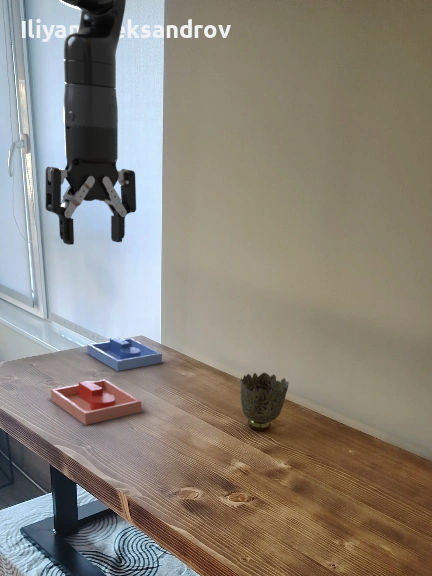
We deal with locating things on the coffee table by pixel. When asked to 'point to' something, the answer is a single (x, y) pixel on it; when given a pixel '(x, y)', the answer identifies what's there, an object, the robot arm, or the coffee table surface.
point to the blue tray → (113, 360)
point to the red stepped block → (95, 395)
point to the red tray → (81, 408)
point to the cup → (262, 399)
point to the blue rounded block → (123, 348)
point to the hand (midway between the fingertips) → (93, 242)
